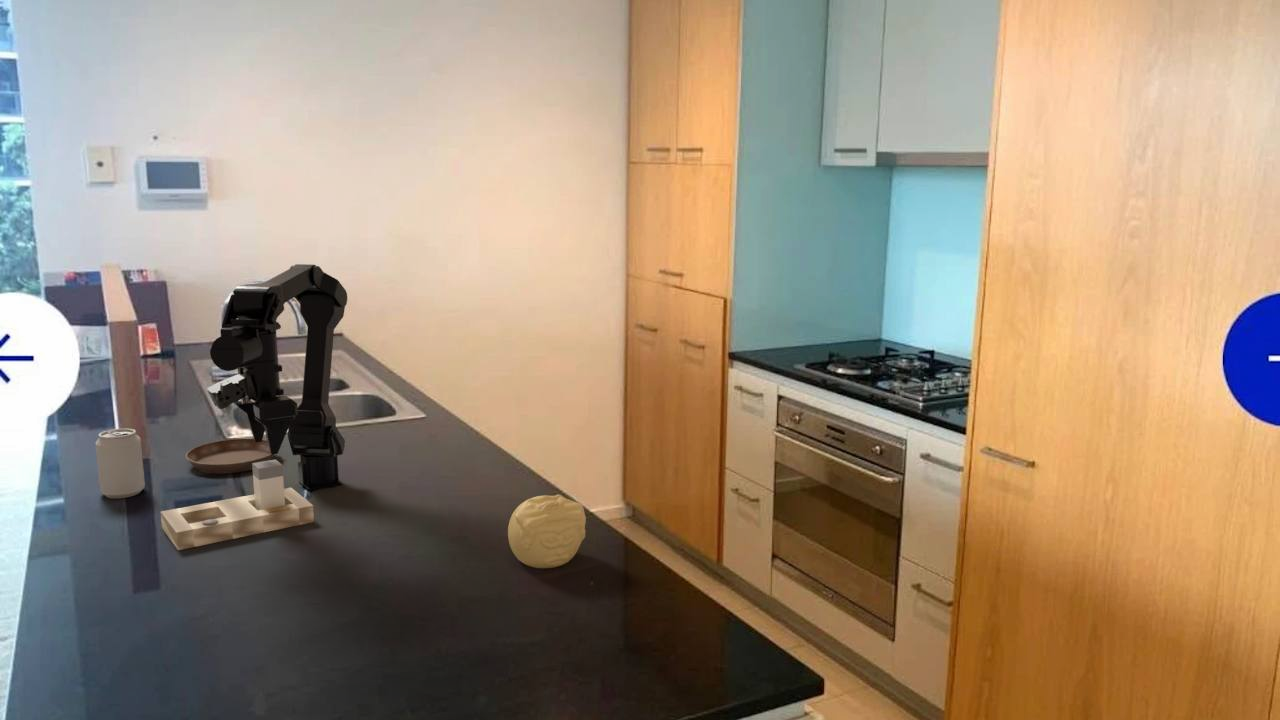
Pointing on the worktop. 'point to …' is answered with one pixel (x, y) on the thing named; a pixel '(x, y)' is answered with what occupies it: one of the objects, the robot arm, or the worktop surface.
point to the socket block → (232, 519)
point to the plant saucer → (229, 455)
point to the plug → (268, 484)
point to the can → (120, 463)
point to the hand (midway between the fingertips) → (266, 447)
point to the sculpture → (546, 531)
